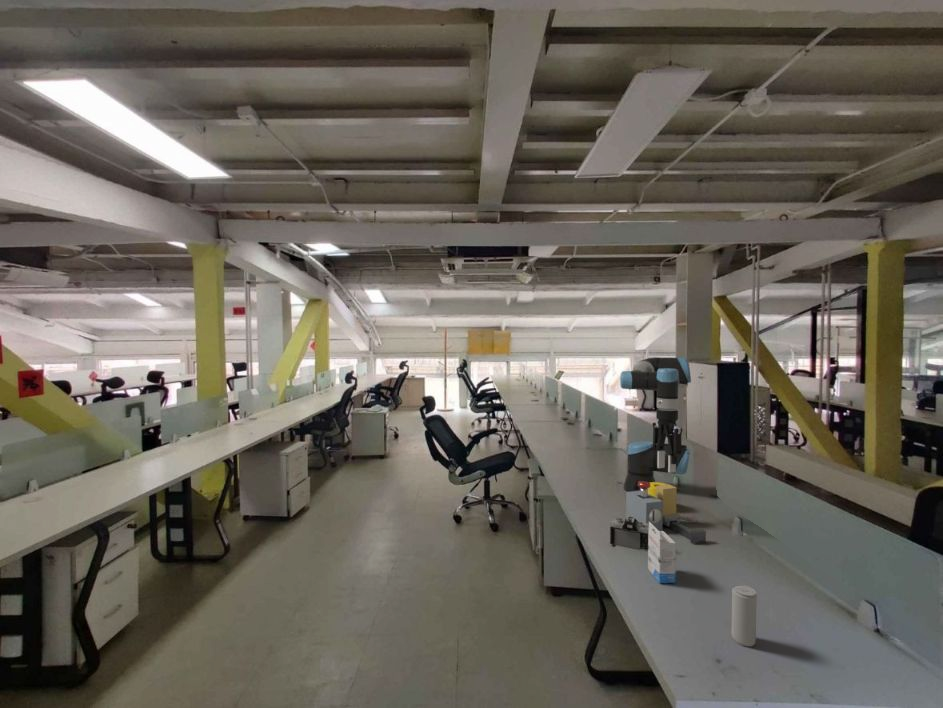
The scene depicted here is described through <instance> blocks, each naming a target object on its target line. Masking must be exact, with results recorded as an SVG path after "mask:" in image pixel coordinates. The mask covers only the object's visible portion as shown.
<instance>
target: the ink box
mask: <svg viewBox="0 0 943 708" xmlns="http://www.w3.org/2000/svg"><path fill="white" fill-rule="evenodd" d="M652 529H653V530H655V531H653V530H652ZM676 550H677V543H676V542H675V541H674V539H672V538H671V537H670V536H669V535H668V534H667V533H666V532H665V531H663V530H662V531H658V530H657V529H656V528H655V527H654V526H653V525H652V524H651V523H650V522H649V532H648V552H647V554H648V555H647V569H648V571H649V572H650V573H651V574H652V575H653V577H654V578H655V579H656V581H657V582H658V583H660V584H676V568H677V567H676V565H677V564H676V554H677V553H676V552H677V551H676Z"/></svg>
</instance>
